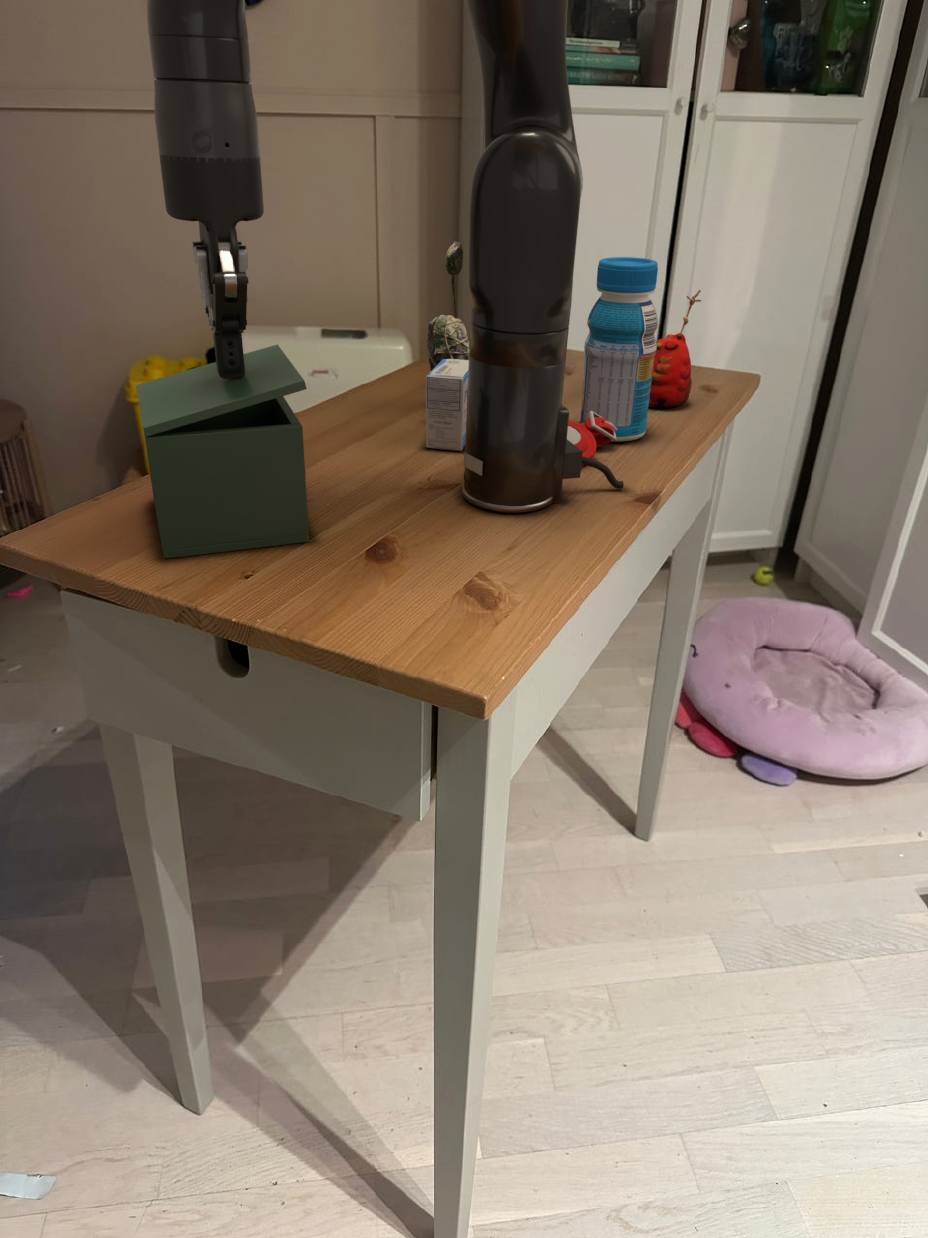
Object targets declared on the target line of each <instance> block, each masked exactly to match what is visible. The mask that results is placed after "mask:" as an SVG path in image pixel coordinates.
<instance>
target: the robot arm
mask: <svg viewBox="0 0 928 1238" xmlns="http://www.w3.org/2000/svg"><path fill="white" fill-rule="evenodd" d="M465 4H466V8H467V12H468V16H469V21H470V24H471V28H472V33H473V35H474V36H473V37H474V40H475V43H476V49H477V53H478V59H479V65H480V73H481V82H482V95H483V96H482V98H483V99H482V100H483V101H482V102H483V141H484V142H483V152H482V153H481V155H480V157H479V158H478V160H477V163H476V165H475V168H474V171H473V175H472V179H471V180H472V181H471V186H470V187H471V188H470V200H469V201H470V202H469V227H468V228H469V230H468V231H469V232H468V233H469V235H468V275H467V276H468V277H467V279H468V283H467V285H468V293H469V299H470V314H469V315H470V316H469V317H470V318H469V319H470V320H469V321H470V322H469V367H468V392H467V418H466V443H465V446H464V452H463V453H464V454H463V468H464V471H463V484H462V496H463V498H464V499H465V500H466V501H467V502H469V503H470V504H472V505H473V506H476V507H478V508H481V509H483V510H484V509H485V510H490V511H493V512H501V513H526V512H527V513H529V512H534V511H538V510H540V509H544V508H546V507H548V506H549V505H551V504H553V503H559V502H561V501H562V491H563V483H564V481H563V480H570V479H578V478H581V472H582V466H581V464H584V465H583V466H588V467H592V468H593V469H596V470H598V471H599V472H601V473H602V474H603V475H604V477H605V479H606V480H607V481H608V483H609V485H611V486H612V487H613V488H615V489H618V490H621V489H623V488H624V485H625V484H624V481H623V480H618V479H617V478H616V477H615V475H614V473H613V472H612V470H611V469H610V468H609V467H608V466H607V465H605V464H604V463H603V462H601V461H598V460H597V459H593V458H592V459H591V458H588V457H584V456H582V454H583V451H582V450H581V449H579V448H578V447H576V446H575V445H574V444H572V443H571V442H570V441H568V440H567V432H568V421H570V410H569V409H568V407H566V406H565V405H563V395H564V394H563V393H564V386H565V385H564V383H565V374H566V363H567V362H566V361H567V353H568V352H567V351H568V342H569V341H568V340H569V329H570V327H569V326H570V321H571V311H572V310H571V309H572V301H573V285H574V270H575V261H576V260H575V259H576V252H577V251H576V250H577V238H578V231H579V218H580V209H581V208H580V207H581V199H582V195H583V185H584V184H583V183H584V177H583V170H582V164H581V161H580V156H579V155H580V154H579V152H578V151H579V150H578V145H577V139H576V132H575V126H574V119H573V111H572V104H571V96H570V87H569V78H568V77H569V76H568V68H567V67H568V65H567V30H568V29H567V27H568V9H569V0H465ZM246 18H247V17H246V0H146V21H147V34H148V42H149V50H150V51H149V52H150V58H151V67H152V74H153V78H154V80H153V87H154V89H153V90H154V102H153V103H154V104H153V105H154V110H153V111H154V123H155V131H156V138H157V147H158V155H159V163H160V171H161V179H162V188H163V189H162V190H163V197H164V204H165V205H164V206H165V211H166V213H167V214H168V215H169V216H170V217H171V218H173V219H175V220H180V221H186V222H198V227H199V228H198V231H199V241H197V240H196V241H195V240H194V241H193V240H192V241H191V249H192V250H191V251H192V257H193V261H194V263H195V264H196V266H197V274H198V282H199V283H198V284H199V290H200V291H199V292H200V296H201V299H203V301H204V304H205V307H204V311H205V314H207V317H208V320H207V322H208V326H210V330H211V331H212V335H213V336H212V337H213V345H214V346H213V347H214V356H215V362H216V366H217V371H218V374H219V376H220V377H221V378H223V379H234V378H242V377H243V376H244V375H245V366H244V355H243V354H244V345H243V334H244V331H246V330H247V326H248V320H247V306H248V305H247V304H248V284H249V277H248V276H247V273H246V271H247V270H248V267H249V259H248V250H247V245H245V244H243V243H242V241H241V240H238V232H237V224H238V223H240V222H252V221H256V220H258V219H261V218H262V217H263V216H264V213H265V207H264V194H263V192H264V191H263V180H262V165H261V152H260V137H259V135H260V134H259V124H258V115H257V110H256V104H255V100H254V94H253V84H251V83H252V71H251V58H250V56H251V55H250V44H249V33H248V25H247V19H246Z"/></svg>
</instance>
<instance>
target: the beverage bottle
mask: <svg viewBox="0 0 928 1238" xmlns="http://www.w3.org/2000/svg"><path fill="white" fill-rule="evenodd" d="M658 270H659V266H658V262H657V260H655V259H651V258H646V257H645V258H644V257H633V256H613V257H612V256H611V257H605V258H601V259H599V260H598V265H597V272H596V290H597V292H599V293H601V294H600V296H599V297H598V299H597V300H596V302H595V303H594V304H593V306H592V308H591V309H590V312H589V314H588V317H587V321H586V324H587V327H588V331H589V333H588V334H587V336H586V338H585V340H584V347H583V351H584V362H583V363H584V365H583V379H582V380H583V381H582V393H581V395H582V396H581V407H580V408H581V409H580V419H579V423H585V420H586V419H587V418H589V417H590V415H589V412H590V411H593V412H595V413H596V414H598V415H599V416H601V417H603V418H605V419H607V420H608V421H609V422H611V423H612V424H613V425H614V426H615V427H616V428H617V431H615V434H616V438H617V440H616V441H613V440H611V441H610V442H612V443H613V442H614V443H619V442H622V443H623V442H631V441H635V440H638V439H641V438H642V437H643V436H644V435H645V434H646V432H647V428H648V415H649V398H650V389H651V381H652V373H653V365H654V357H655V355H656V350H657V343H656V342H657V340H656V337H655V333H656V332H657V329H658V328H659V319H658V314H657V310H656V308H655V305H654V303H653V302H652V300H651V298H650V295H652V294H654V293H655V292H656V291H655V290H656V287H657V280H658V273H659V271H658Z"/></svg>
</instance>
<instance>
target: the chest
mask: <svg viewBox="0 0 928 1238" xmlns="http://www.w3.org/2000/svg"><path fill="white" fill-rule="evenodd" d="M142 429H143V428H142ZM143 434H144V443H145V449H146V450H145V451H146V454H147V455H146V456H147V462H148V469H149V476H150V483H151V489H152V495H153V502H154V508H155V509H154V510H155V515H156V521H157V527H158V534H159V538H160V544H161V551H162V558H163V559H164V560H167V559H174V558H183V557H192V556H199V555H208V554H209V555H210V554H217V553H226V552H235V551H244V550H252V549H259V548H269V547H278V546H285V545H293V544H294V545H295V544H302V543H303V544H304V543H309V542H310V535H309V533H310V532H309V517H308V516H309V513H308V499H307V481H306V462H305V445H304V427H303V425H302V423H301V421H300V420H299V418H298V417H297V416H296V414H295V412H294V411H293V409H292V407H291V406H290V405H289V403H288V401H287V399H286V398H285V396H282V397H279V398H275V399H272V400H269V401H265V402H262V403H259V404H255V405H252V406H248V407H245V408H242V409H238V410H235V411H232V412H228V413H225V414H222V415H218V416H215V417H212V418H208V419H205V420H201V421H198V422H195V423H191V424H188V425H185V426H181V427H178V428H175V429H171V430H168V431H165V432H161V433H158V434H154V435H151V436H148V437H147V436H146V434H145V432H144V429H143Z"/></svg>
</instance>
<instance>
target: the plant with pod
mask: <svg viewBox="0 0 928 1238" xmlns="http://www.w3.org/2000/svg"><path fill="white" fill-rule="evenodd" d="M463 263H464V249H463V245H462V243H461V242H459V241H453V243H452V244H451V245H450V246H449V247H448V249H447V251H446V253H445V259H444V264H445V268H446V272H447V273H448V275H451V292H452V293H451V294H452V305H453V306H452V307H453V313H454V314H453V315H451V314H448V315H445V314H440V315H439V316H436V317H434V319H432V320H431V321H430V322H429V324H428V328H427V329H428V334H427V340H426V346H427V353H428V363H429V369H430V372H431V371H432V370H433V369H434V368H435V367H436V366H437V365H438V364H439V363H440V361H441V360H442V359H460V360H469V340H470V337H469V335H468V330H467V328H466V327H465V324H464V322H463V321H462V319H460V318H459V317H458V318H457V305H456V304H457V303H456V302H457V301H456V293H455V291H456V288H455V286H456V284H455V283H456V276H459V274H460V273H461V271H462V269H463ZM426 318H429V316H428V315H427V316H426Z"/></svg>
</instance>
